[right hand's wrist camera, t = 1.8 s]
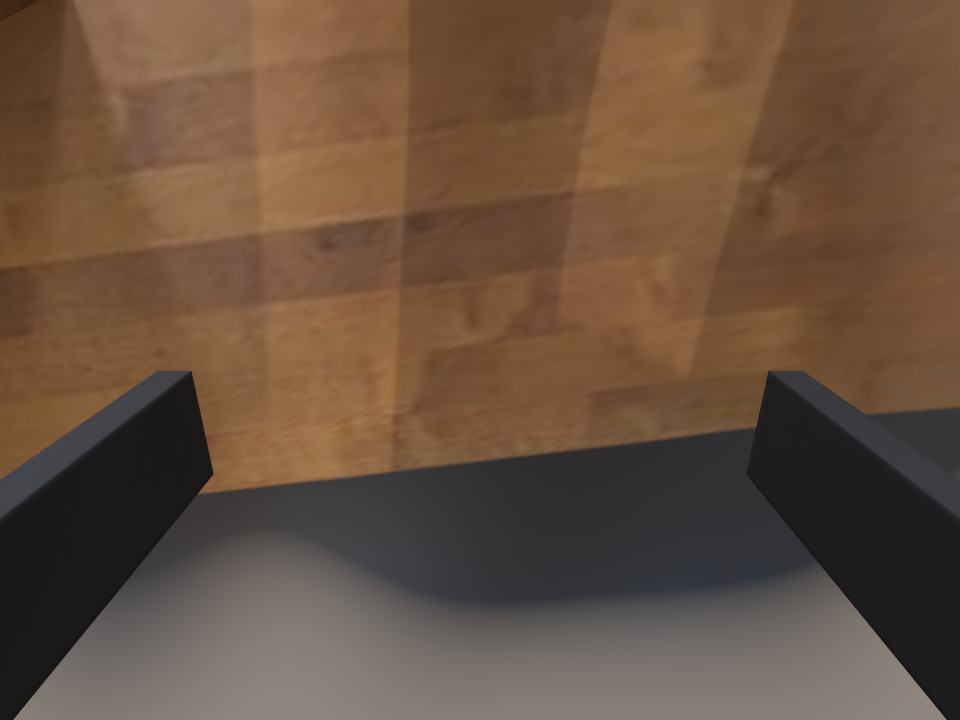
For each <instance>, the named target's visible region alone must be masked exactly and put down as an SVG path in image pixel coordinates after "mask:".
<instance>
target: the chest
mask: <svg viewBox="0 0 960 720" xmlns="http://www.w3.org/2000/svg"><path fill="white" fill-rule="evenodd" d="M35 1H37V0H0V20H2V19H4V18H5V17H7V16H9V15H11V14H13V13H15V12H16V11H18V10H20V9H22V8H24V7H26V6H27V5H29V4H31V3H33V2H35Z"/></svg>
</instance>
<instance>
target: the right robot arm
mask: <svg viewBox="0 0 960 720" xmlns="http://www.w3.org/2000/svg"><path fill="white" fill-rule="evenodd" d="M747 475H748V477H749V478H750V479H751V480H752V482H753V483H754V484H755V485H756V487H757V488H758V489H759V490H760V491H761V493H762V494H763V495H764V496H765V498H766V499H767V500H768V501H769V502H770V504H771V505H772V506H773V507H774V509H775V510H776V511H777V512H778V514H779V515H780V516H781V517H782V518H783V520H784V521H785V522H786V523H787V525H788V526H789V527H790V528H791V529H792V531H793V532H794V533H795V534H796V536H797V537H798V538H799V539H800V540H801V542H802V543H803V544H804V545H805V547H806V548H807V549H808V550H809V552H810V553H811V554H812V555H813V556H814V558H815V559H816V560H817V561H818V563H819V564H820V565H821V566H822V567H823V569H824V570H825V571H826V572H827V574H828V575H829V576H830V577H831V578H832V580H833V581H834V582H835V583H836V585H837V586H838V587H839V588H840V589H841V591H842V592H843V593H844V594H845V596H846V597H847V598H848V599H849V601H850V602H851V603H852V604H853V605H854V607H855V608H856V609H857V610H858V612H859V613H860V614H861V615H862V616H863V618H864V619H865V620H866V621H867V623H868V624H869V625H870V626H871V627H872V629H873V630H874V631H875V632H876V634H877V635H878V636H879V637H880V639H881V640H882V641H883V642H884V643H885V645H886V646H887V647H888V648H889V650H890V651H891V652H892V653H893V654H894V656H895V657H896V658H897V659H898V661H899V662H900V663H901V664H902V665H903V667H904V668H905V669H906V670H907V672H908V673H909V674H910V675H911V677H912V678H913V679H914V680H915V681H916V683H917V684H918V685H919V686H920V688H921V689H922V690H923V691H924V692H925V694H926V695H927V696H928V697H929V699H930V700H931V701H932V702H933V703H934V705H935V706H936V707H937V708H938V710H939V711H940V712H941V713H942V714H943V716H944V717H945V718H946V719H947V720H960V480H959V479H958V478H956V477H955V476H953V475H952V474H950V473H949V472H947V471H946V470H945V469H943V468H942V467H940V466H939V465H937V464H936V463H934V462H933V461H932V460H930V459H929V458H927V457H926V456H924V455H923V454H921V453H920V452H919V451H917V450H916V449H914V448H913V447H911V446H910V445H908V444H907V443H906V442H904V441H903V440H901V439H900V438H898V437H897V436H895V435H894V434H893V433H891V432H890V431H888V430H887V429H885V428H884V427H883V426H881V425H880V424H878V423H877V422H875V421H874V420H872V419H871V418H870V417H868V416H867V415H865V414H864V413H862V412H861V411H859V410H858V409H857V408H855V407H854V406H852V405H851V404H849V403H848V402H846V401H845V400H844V399H842V398H841V397H839V396H838V395H836V394H835V393H833V392H832V391H831V390H829V389H828V388H826V387H825V386H823V385H822V384H820V383H819V382H818V381H816V380H815V379H813V378H812V377H810V376H809V375H807V374H806V373H805V372H803V371H769V372H768V376H767V381H766V386H765V390H764V395H763V399H762V404H761V409H760V413H759V418H758V423H757V427H756V432H755V437H754V441H753V446H752V450H751V455H750V460H749V464H748V469H747ZM212 476H213V469H212V464H211V460H210V455H209V450H208V446H207V441H206V437H205V432H204V427H203V423H202V418H201V413H200V409H199V404H198V399H197V395H196V390H195V386H194V381H193V376H192V372H191V371H157V372H155V373H154V374H153V375H151V376H150V377H148V378H147V379H145V380H144V381H142V382H141V383H140V384H138V385H137V386H135V387H134V388H132V389H131V390H129V391H128V392H127V393H125V394H124V395H122V396H121V397H119V398H118V399H116V400H115V401H114V402H112V403H111V404H109V405H108V406H106V407H105V408H103V409H102V410H101V411H99V412H98V413H96V414H95V415H93V416H92V417H90V418H89V419H88V420H86V421H85V422H83V423H82V424H80V425H79V426H77V427H76V428H75V429H73V430H72V431H70V432H69V433H67V434H66V435H65V436H63V437H62V438H60V439H59V440H57V441H56V442H54V443H53V444H52V445H50V446H49V447H47V448H46V449H44V450H43V451H41V452H40V453H39V454H37V455H36V456H34V457H33V458H31V459H30V460H28V461H27V462H26V463H24V464H23V465H21V466H20V467H18V468H17V469H15V470H14V471H13V472H11V473H10V474H8V475H7V476H5V477H4V478H2V479H1V480H0V720H13V719H14V718H15V717H16V716H17V714H18V713H19V712H20V711H21V710H22V708H23V707H24V706H25V705H26V703H27V702H28V701H29V700H30V699H31V697H32V696H33V695H34V694H35V692H36V691H37V690H38V689H39V687H40V686H41V685H42V684H43V683H44V681H45V680H46V679H47V678H48V677H49V675H50V674H51V673H52V672H53V670H54V669H55V668H56V667H57V665H58V664H59V663H60V662H61V661H62V659H63V658H64V657H65V656H66V654H67V653H68V652H69V651H70V650H71V648H72V647H73V646H74V645H75V643H76V642H77V641H78V640H79V638H80V637H81V636H82V635H83V634H84V632H85V631H86V630H87V629H88V627H89V626H90V625H91V624H92V622H93V621H94V620H95V619H96V618H97V616H98V615H99V614H100V613H101V611H102V610H103V609H104V608H105V607H106V605H107V604H108V603H109V602H110V601H111V599H112V598H113V597H114V596H115V594H116V593H117V592H118V591H119V589H120V588H121V587H122V586H123V585H124V583H125V582H126V581H127V580H128V578H129V577H130V576H131V575H132V574H133V572H134V571H135V570H136V569H137V567H138V566H139V565H140V564H141V563H142V561H143V560H144V559H145V558H146V556H147V555H148V554H149V553H150V552H151V550H152V549H153V548H154V547H155V545H156V544H157V543H158V542H159V540H160V539H161V538H162V537H163V536H164V534H165V533H166V532H167V531H168V529H169V528H170V527H171V526H172V525H173V523H174V522H175V521H176V520H177V518H178V517H179V516H180V515H181V513H182V512H183V511H184V510H185V509H186V507H187V506H188V505H189V504H190V502H191V501H192V500H193V499H194V498H195V496H196V495H197V494H198V493H199V491H200V490H201V489H202V488H203V487H204V485H205V484H206V483H207V482H208V480H209V479H210V478H211V477H212Z"/></svg>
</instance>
